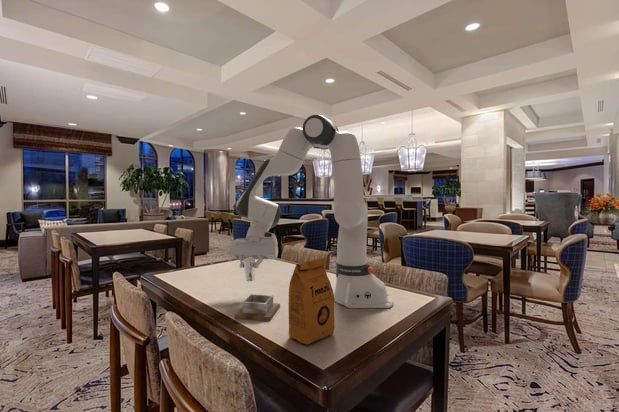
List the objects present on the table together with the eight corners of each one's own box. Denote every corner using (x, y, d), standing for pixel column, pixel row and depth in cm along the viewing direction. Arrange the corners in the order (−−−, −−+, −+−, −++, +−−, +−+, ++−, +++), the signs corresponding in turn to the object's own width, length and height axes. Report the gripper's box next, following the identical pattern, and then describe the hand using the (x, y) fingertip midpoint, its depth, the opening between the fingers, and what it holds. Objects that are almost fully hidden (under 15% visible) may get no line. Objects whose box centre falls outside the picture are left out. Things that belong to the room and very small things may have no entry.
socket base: (280, 307, 109) (280, 294, 109) (270, 320, 97) (269, 306, 97) (248, 304, 111) (248, 292, 111) (234, 318, 99) (234, 304, 99)
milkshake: (246, 278, 122) (244, 254, 122) (258, 278, 120) (256, 253, 120) (240, 281, 117) (238, 256, 117) (253, 282, 116) (251, 256, 116)
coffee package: (340, 336, 87) (340, 260, 86) (305, 350, 79) (305, 266, 78) (317, 324, 94) (317, 254, 93) (284, 336, 87) (283, 260, 86)
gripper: (230, 234, 127) (221, 262, 118) (278, 233, 123) (271, 263, 114) (235, 242, 131) (226, 271, 122) (281, 243, 128) (275, 271, 119)
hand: (248, 267), depth 118 cm, fingers closed on milkshake, 4 cm apart
